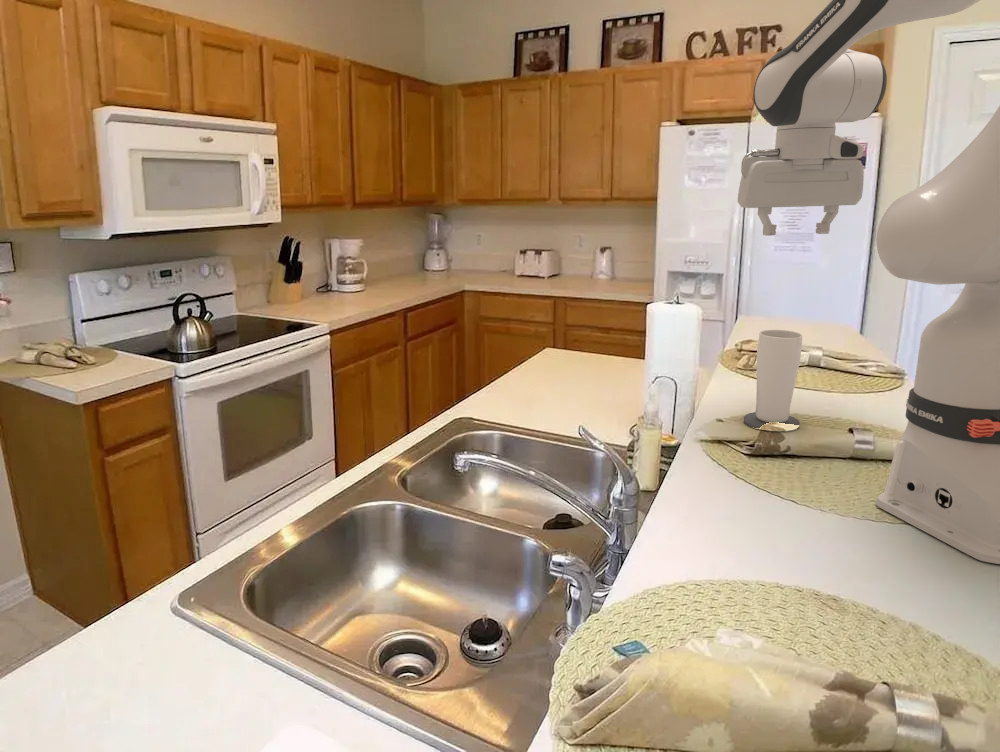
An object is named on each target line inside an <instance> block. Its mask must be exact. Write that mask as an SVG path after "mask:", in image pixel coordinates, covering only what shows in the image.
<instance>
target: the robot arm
mask: <svg viewBox="0 0 1000 752" xmlns="http://www.w3.org/2000/svg"><path fill="white" fill-rule="evenodd" d="M980 1H981V0H831V1H830V2H829V3H828V4H827V6H825V7H824V8H823V10H822V11H820V12H819V14H818V15H817V16H816V17H814V19H813V20H812V21H811V22H810V23H809V25H808V26H806V28H805V29H804V30H803V31H801V33H800V34H799V35H798V36H797V37H796V38H795V39H794V40H793V41H792V42H791V43H790V44H789V45H787V46H786V47H785V48H783V49H781V50H780V51H778V52H777V53H775V54H774V55H773V56H772V57H771V58H770V59H769V60H768V61H767V62H766V63H765V64H764V65H763V67H762V69H761V70H760V71H759V73H758V75H757V77H756V79H755V82H754V86H753V94H752V95H753V103H754V106H755V108H756V110H757V112H758V113H759V115H760V116H761V117H762V118H763V119H764V120H765V121H766V122H767V123H768V124H769V125H770V126H772V127H776V134H775V144H774V145H775V146H774V148H775V149H773V148H769V149H752V150H751V151H750V152H747V154H745V155H744V156H743V158H742V160H741V164H740V165H741V166H740V172H741V179H740V182H739V188H738V193H737V203H738V204H739V206H740V207H741V208H745V209H754V208H755V209H756V208H757V216H758V218H759V219H760V221H761V222H760V223H761V224H762V235H763V236H767V237H769V236H775V235H776V234H777V231H776V230H777V224H772V221H771V219H770V217H769V215H772V211H773V208H795V207H796V208H798V207H799V208H800V207H801V208H802V207H823V212H824V213H825V215H824V217H823V218H822V219H821V221H820V222H816V223H815V224H816V225H815V228H816V229H815V234H817V235H829V233H830V228H831V224H832V222H833V221H834V219H835V218H836V217H837V215H838V214H839V208H840V206H856V205H858V204H859V202H860V201H861V199H862V198H863V191H864V176H865V173H864V171H865V170H864V165H863V163H862V162H861V161H860V160H859V159H861V158H863V155H864V150H865V148H864V145H863V144H861V143H858V142H856V141H852V140H849V139H846V138H844V137H842V136H839V135H836V128H837V127H836V123H837V124H840V123H854V122H855V123H856V122H858V121H864V120H866V119H867V118H869V117H871V115H873V114H874V113H875V111H876V110H878V108H879V107H880V105H881V104H882V101H883V99H884V97H885V96H886V95H885V94H886V91H887V84H888V75H887V70H886V67H885V65H884V63H883V61H882V60H881V59H880V58H879V57H878V55H876V54H871V53H866V52H862V51H856V50H853V49H850V48H851V47H852V46H853V45H854V44H856V43H857V42H858V41H860V40H861V39H863V38H864V37H867V36H868V35H870V34H873V33H875V32H877V31H880V30H883V29H886V28H889V27H890V28H891V27H894V26H897V25H902V24H903V25H904V24H907V23H912V22H917V21H922V20H929V19H935V18H939V17H940V18H941V17H946V16H950V15H954V14H957V13H959V12H960V13H961V12H962V11H965V10H966V9H967V10H968V9H969V8H970V7H972V6H973V5H975V4H977V3H978V2H980ZM875 238H876V239H875V240H876V250H877V253H878V254H877V255H878V256H879V259H880V261H881V264H882V265H883V266H884V267H885V269H886V270H887V272H889V273H890V274H891V275H892V276H894V277H896V278H898V279H903V280H907V281H912V282H918V283H924V284H930V285H940V286H941V285H959V284H960V285H961V284H962V285H963V284H964V286H963V288H962V290H961V292H960V294H959V295H958V296H957V298H956V299H955V301H954V302H953V304H952V305H951V306H950V307H949V308H948V309H947V310H945V312H942V314H940V315H938V316H937V317H935V318H934V319H932V320H931V321H930V322H929V323H928V324H927V325H926V326H925V328H924V329H923V331H922V333H921V336H920V340H919V347H918V348H919V349H918V355H917V362H916V369H915V376H914V384H913V387H912V388H911V389H909V391H908V392H909V393H908V398H907V399H906V403H905V406H906V410H905V418H906V420H908V421H907V425H906V427H905V430H904V431H903V433H902V435H901V437H900V439H899V440H898V441H897V444H896V446H895V450H894V453H893V457H892V461H891V464H890V468H889V474H888V477H887V479H886V481H887V482H886V485H885V488H884V491H883V492H882V493H880V494H879V495H878V496H877V499H876V502H875V505H876V506H877V507H878V508H879V509H881V510H883V511H885V512H887V513H888V514H891V515H893V516H895V517H896V518H898V519H900V520H902V521H904V522H906V523H907V524H910V525H912V526H913V527H915V528H917V529H920V530H921V531H923V532H925V533H927V534H928V535H930V536H933V537H934V538H936V539H938V540H940V541H942V542H944V543H946V545H947V544H948V545H949V546H951V547H953V548H955V549H957V550H959V551H960V552H962V553H964V554H966V555H968V556H971V557H972V558H974V559H975V560H978V561H981V562H985V563H991V564H994V565H995V564H997V565H1000V105H999V106H998V107H997V108H996V111H995V112H994V113H993V115H992V117H991V118H990V119H989V121H988V122H987V123H986V125H985V126H984V128H983V129H982V130H981V131H980V132H979V133H978V134H977V136H976V137H975V138H973V140H972V141H971V142H970V143H969V144H968V145H967V146H966V147H965V149H964V150H962V151H961V153H959V155H958V156H956V157H955V158H954V159H953V160H952V161H951V162H950V163H949V164H948V165H947V166H946V167H945V168H943V169H942V170H941V171H940V172H938V173H937V174H936V175H935V176H934V177H932V178H930V180H928V181H926V182H924V183H923V184H922V185H920V186H919V187H917V188H915V189H914V190H912V191H909V192H907V193H906V194H903V195H902V196H900V197H899V198H897V199H896V200H895V201H893V202H892V203H891V204H890V205H889V207H888V208H887V209H886V210H885V212H884V213H883V215H882V217H881V220H880V222H879V225H878V227H877V231H876V237H875Z"/></svg>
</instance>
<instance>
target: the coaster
mask: <svg viewBox="0 0 1000 752" xmlns="http://www.w3.org/2000/svg"><path fill="white" fill-rule="evenodd" d="M766 423H768V422H764V421H761V420H759V419H758V418H757V417H756V411H755V412H750V413H746V414H744V416H743V424H744V425H745V426H746V427H749V426H750V427H749V428H751V427H754V428H760V427H761V426H762V425H764V424H766ZM783 423H785V424H794V425H800V424H801V423H800V420H799V419H798V418H796V417H794V416H792V415H789V419H788V420H787V421H786V422H783ZM800 426H801V425H800ZM754 428H753V429H754Z"/></svg>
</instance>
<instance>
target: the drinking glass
mask: <svg viewBox="0 0 1000 752" xmlns="http://www.w3.org/2000/svg"><path fill="white" fill-rule="evenodd" d="M802 344H803V334H801V333H799V332H797V331H792V330H785V329H784V330H783V329H766V330H765V329H764V330H761V331H760V332H759V336H758V343H757V350H756V402H755V403H756V406H755V412H756V417H757V418H758V419H759V420H761V421H764V422H768V423H769V422H779V423H783V422H786V421H787V420H788V419H789V416H790V411H791V404H792V400H793V397H794V396H793V395H794V390H795V386H796V381H797V376H798V372H799V371H798V370H799V367H800V363H801V356H802V347H803V346H802Z"/></svg>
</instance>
